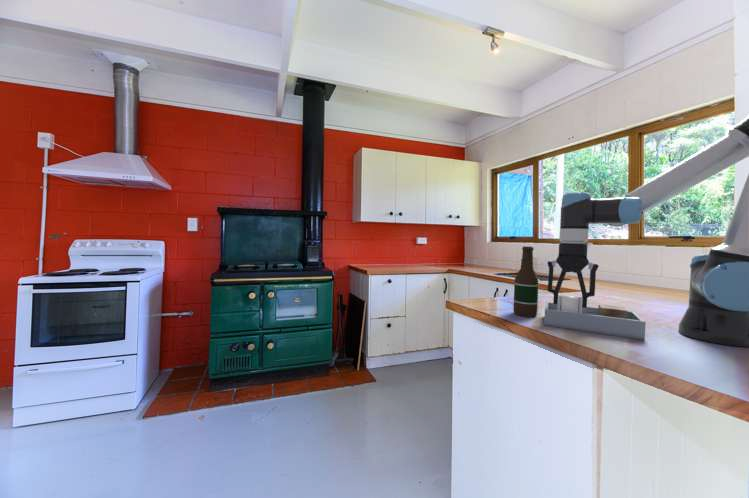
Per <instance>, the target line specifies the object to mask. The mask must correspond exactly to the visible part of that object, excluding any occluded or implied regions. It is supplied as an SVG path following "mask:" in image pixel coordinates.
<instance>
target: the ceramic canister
mask: <svg viewBox="0 0 749 498" xmlns="http://www.w3.org/2000/svg"><path fill="white" fill-rule="evenodd" d="M560 311H566V312H574V313H579V296H577V295H572V294H561V301H560Z"/></svg>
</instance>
